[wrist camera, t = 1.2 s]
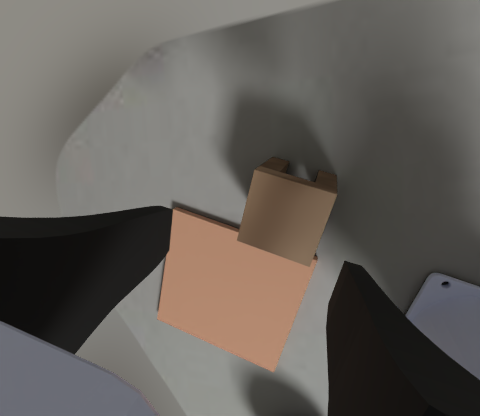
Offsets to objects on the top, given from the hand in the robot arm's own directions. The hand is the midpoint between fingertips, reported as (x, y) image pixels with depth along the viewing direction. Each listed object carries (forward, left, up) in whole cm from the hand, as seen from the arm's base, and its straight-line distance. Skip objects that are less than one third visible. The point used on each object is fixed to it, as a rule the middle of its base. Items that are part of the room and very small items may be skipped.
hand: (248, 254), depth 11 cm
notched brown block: (-1, 0, -10) cm, 10 cm away
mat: (+2, +10, -10) cm, 14 cm away
